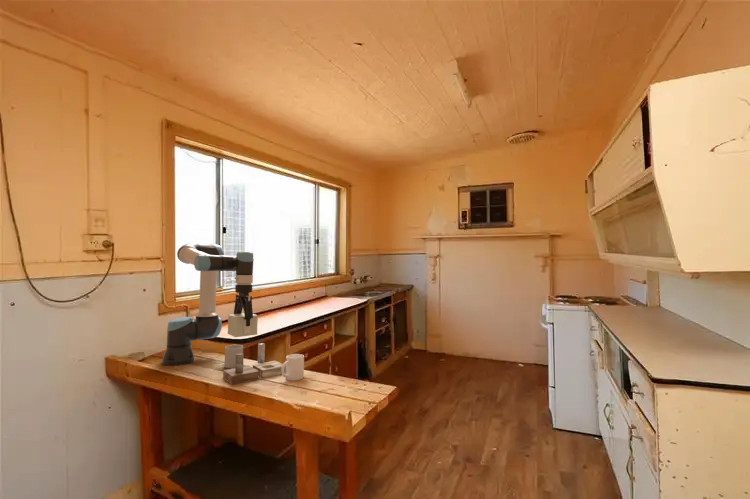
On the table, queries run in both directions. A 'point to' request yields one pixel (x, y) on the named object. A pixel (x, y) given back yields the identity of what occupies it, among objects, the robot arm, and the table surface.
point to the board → (241, 376)
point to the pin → (261, 353)
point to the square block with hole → (269, 368)
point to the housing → (241, 325)
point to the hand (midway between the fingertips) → (242, 331)
